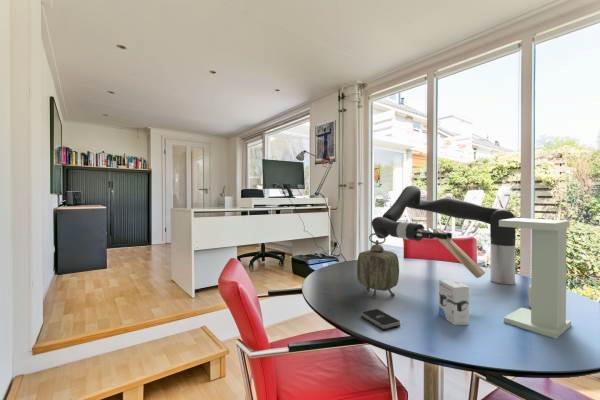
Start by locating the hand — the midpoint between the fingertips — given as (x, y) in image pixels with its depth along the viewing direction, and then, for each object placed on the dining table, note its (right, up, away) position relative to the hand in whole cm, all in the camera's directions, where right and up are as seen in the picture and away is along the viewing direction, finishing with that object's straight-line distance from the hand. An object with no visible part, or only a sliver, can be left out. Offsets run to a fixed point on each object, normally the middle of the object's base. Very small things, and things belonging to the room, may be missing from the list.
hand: (449, 236), depth 109 cm
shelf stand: (+15, -24, -21) cm, 35 cm away
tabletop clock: (-27, -24, +3) cm, 37 cm away
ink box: (-8, -25, -18) cm, 32 cm away
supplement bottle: (+27, -24, -10) cm, 37 cm away
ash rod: (+1, -7, -2) cm, 7 cm away
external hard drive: (-32, -25, -20) cm, 46 cm away
